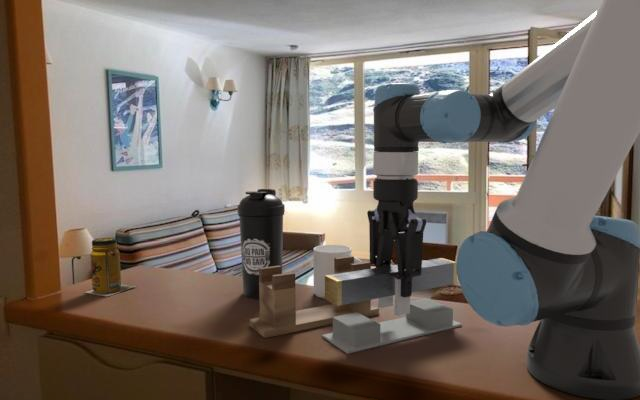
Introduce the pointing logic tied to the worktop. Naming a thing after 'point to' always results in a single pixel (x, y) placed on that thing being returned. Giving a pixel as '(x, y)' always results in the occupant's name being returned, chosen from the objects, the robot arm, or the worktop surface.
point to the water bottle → (260, 236)
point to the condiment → (106, 268)
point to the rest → (390, 326)
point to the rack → (281, 302)
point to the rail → (385, 281)
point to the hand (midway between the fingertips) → (393, 309)
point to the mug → (327, 264)
